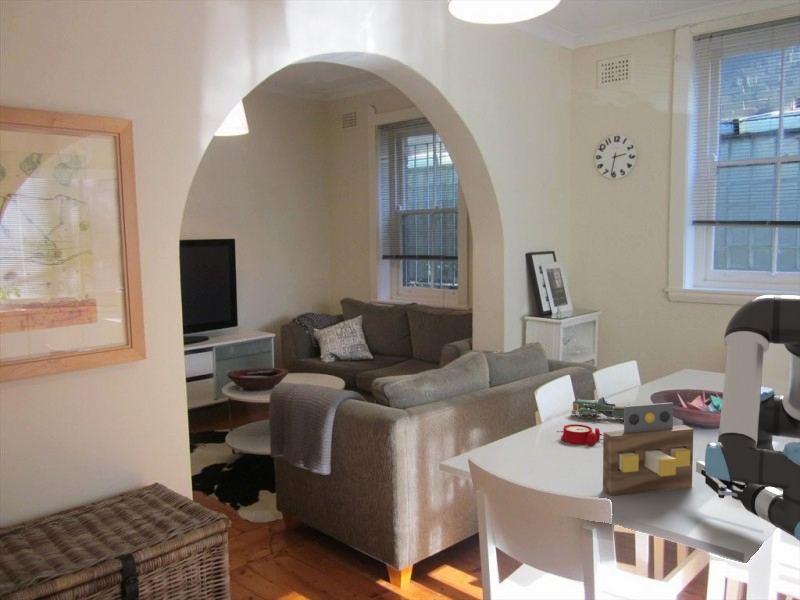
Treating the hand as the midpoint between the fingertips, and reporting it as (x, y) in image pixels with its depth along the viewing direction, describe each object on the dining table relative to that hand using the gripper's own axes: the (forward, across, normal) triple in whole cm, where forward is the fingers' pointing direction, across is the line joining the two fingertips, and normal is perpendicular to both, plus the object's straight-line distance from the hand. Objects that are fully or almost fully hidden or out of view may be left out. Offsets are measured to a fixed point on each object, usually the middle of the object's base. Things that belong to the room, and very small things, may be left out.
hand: (698, 466), depth 168 cm
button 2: (+11, 0, -2) cm, 11 cm away
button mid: (+6, -7, -2) cm, 10 cm away
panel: (+11, -7, -9) cm, 16 cm away
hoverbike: (+75, +16, -10) cm, 77 cm away
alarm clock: (+54, -4, -10) cm, 55 cm away
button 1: (+11, -15, -2) cm, 19 cm away
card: (+11, -7, +7) cm, 15 cm away
